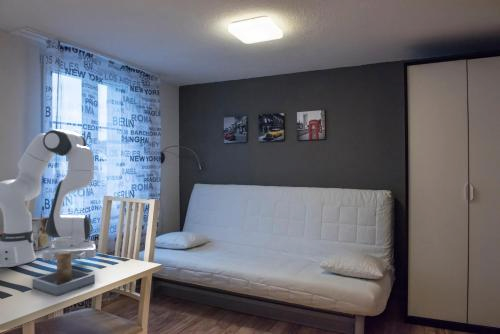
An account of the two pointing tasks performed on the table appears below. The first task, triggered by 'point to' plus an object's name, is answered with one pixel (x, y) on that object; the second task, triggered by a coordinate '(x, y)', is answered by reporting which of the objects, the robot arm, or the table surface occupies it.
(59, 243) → the cup
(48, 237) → the coffee box
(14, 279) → the table surface
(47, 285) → the box
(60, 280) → the walnut cylinder
